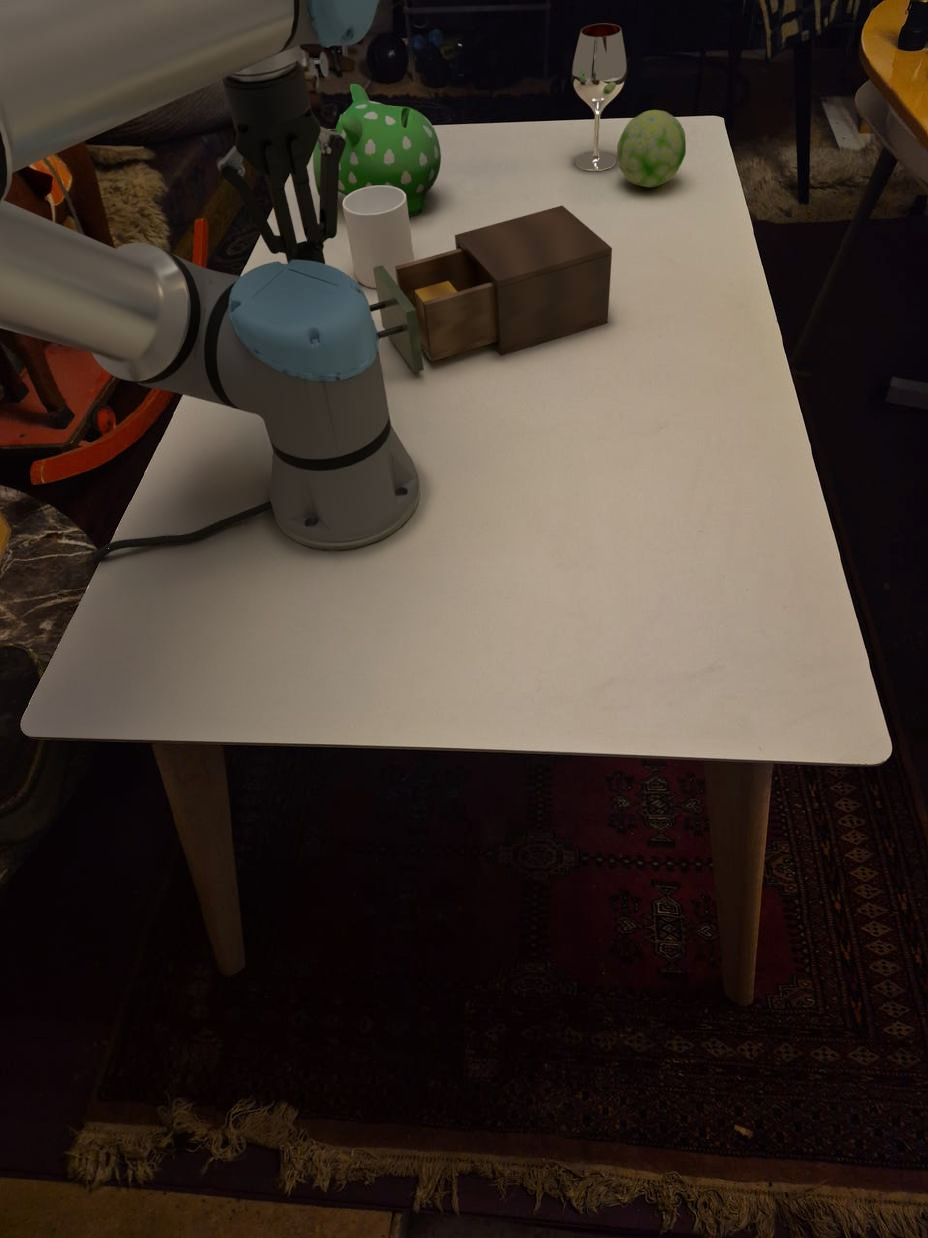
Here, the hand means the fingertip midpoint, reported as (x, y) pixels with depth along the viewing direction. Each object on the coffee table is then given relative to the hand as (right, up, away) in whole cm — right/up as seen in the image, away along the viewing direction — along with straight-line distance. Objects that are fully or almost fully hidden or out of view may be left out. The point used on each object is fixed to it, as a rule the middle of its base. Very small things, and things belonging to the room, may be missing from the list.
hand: (315, 303), depth 96 cm
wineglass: (+38, +37, +39) cm, 66 cm away
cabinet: (+25, +3, +12) cm, 28 cm away
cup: (+6, +13, +23) cm, 27 cm away
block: (+14, 0, +8) cm, 16 cm away
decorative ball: (+45, +30, +33) cm, 63 cm away
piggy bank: (+5, +28, +35) cm, 45 cm away
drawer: (+13, -1, +9) cm, 16 cm away
